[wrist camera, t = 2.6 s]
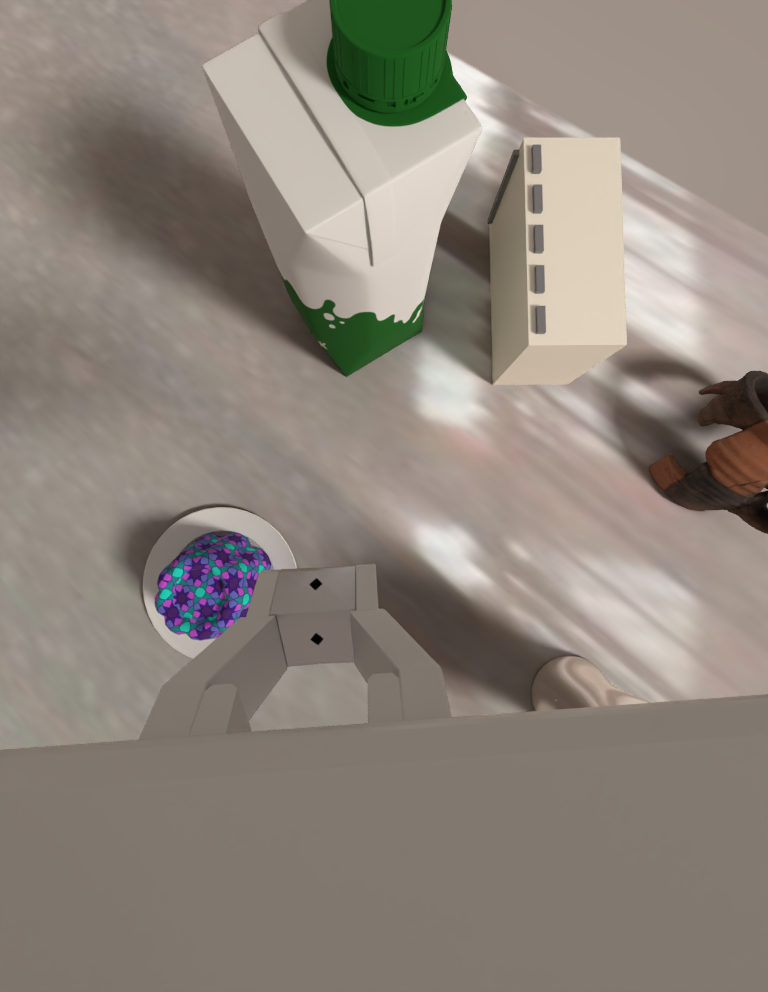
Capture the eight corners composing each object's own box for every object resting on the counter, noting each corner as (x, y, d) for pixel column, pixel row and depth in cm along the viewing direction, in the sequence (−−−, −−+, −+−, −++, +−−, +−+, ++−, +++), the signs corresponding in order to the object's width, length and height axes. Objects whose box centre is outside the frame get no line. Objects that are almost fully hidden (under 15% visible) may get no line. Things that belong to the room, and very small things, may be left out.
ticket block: (488, 384, 33) (524, 343, 25) (484, 226, 34) (519, 133, 25) (567, 384, 33) (629, 342, 25) (562, 225, 34) (622, 133, 25)
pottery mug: (616, 443, 34) (714, 372, 27) (674, 417, 38) (772, 350, 31) (718, 574, 30) (861, 532, 23) (770, 529, 35) (903, 483, 28)
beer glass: (592, 635, 33) (772, 742, 18) (627, 718, 32) (840, 897, 18) (511, 670, 32) (624, 808, 18) (546, 753, 32) (691, 964, 17)
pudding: (193, 480, 33) (158, 475, 28) (327, 550, 33) (317, 558, 28) (120, 615, 33) (70, 635, 27) (255, 686, 33) (231, 721, 27)
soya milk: (437, 335, 33) (525, 74, 13) (341, 393, 33) (283, 216, 13) (380, 243, 33) (382, -150, 13) (283, 301, 33) (140, -14, 13)
